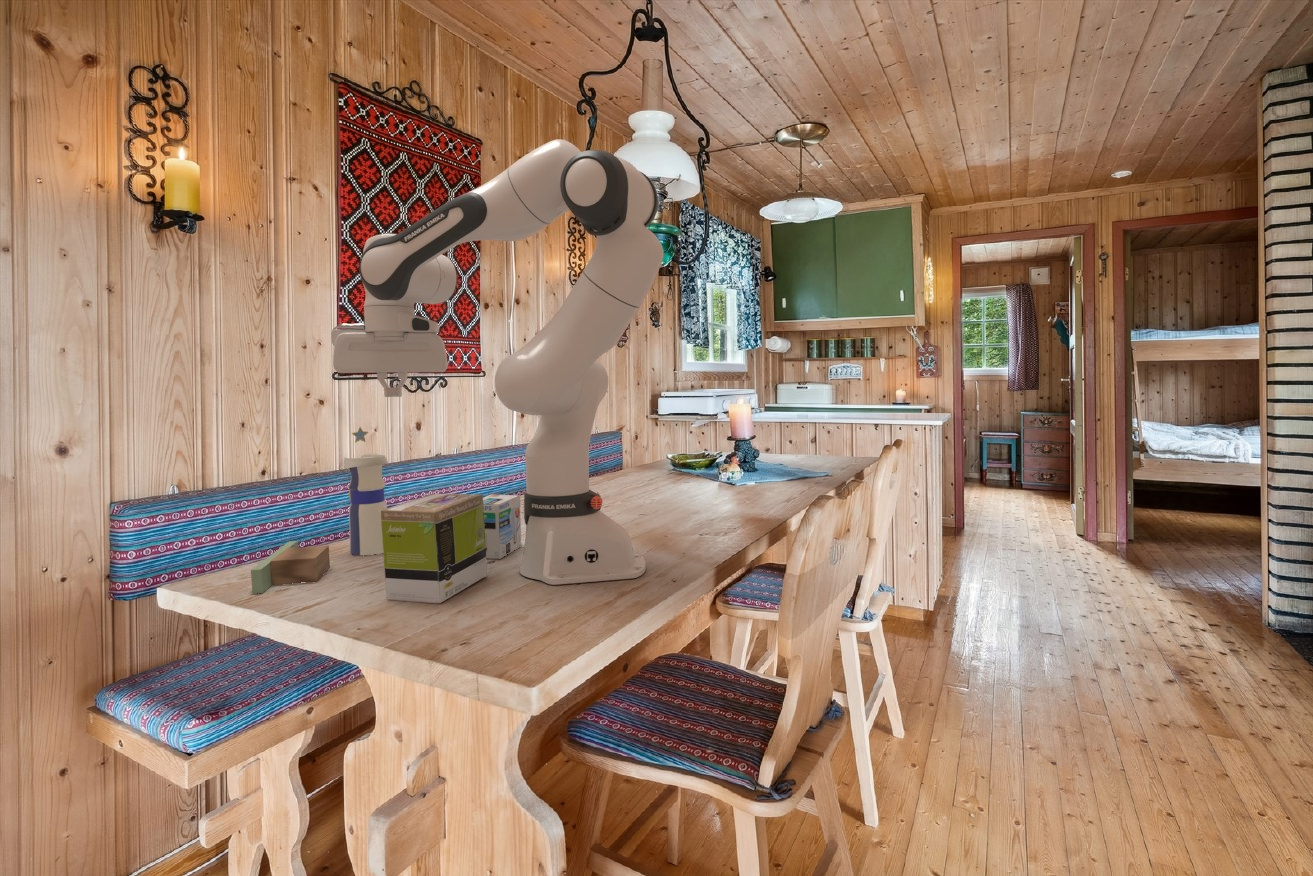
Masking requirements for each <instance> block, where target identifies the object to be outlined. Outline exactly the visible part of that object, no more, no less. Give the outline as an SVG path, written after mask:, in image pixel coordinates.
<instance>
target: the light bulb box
mask: <svg viewBox="0 0 1313 876" xmlns="http://www.w3.org/2000/svg"><path fill="white" fill-rule="evenodd" d="M483 510H484V526H485V542H486V558H487V559H491V560H492V559H493V560H501V559H502V558H505V557H506V556H508V555H510V554H511V553H513V552H515V551H516V550H518V549H520V548H522V528H521V527H522V526H521V520H522V519H521V496H520V495H514V494H513V495H512V494H511V495H508V494H489V495H486V496H484V497H483ZM519 547H520V548H519ZM514 550H515V551H514ZM507 554H508V555H507ZM504 556H505V557H504Z"/></svg>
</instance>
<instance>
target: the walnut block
mask: <svg viewBox="0 0 1313 876" xmlns="http://www.w3.org/2000/svg"><path fill="white" fill-rule="evenodd" d="M330 560H331V559H330V546H329V545H319V546H318V545H317V546H300V547H299V546H298V548H287V549H285V550H284V551H283V552H281V553H280V554H279V555H278V556H276V557H275V558H274V559H272V560H271V561H270V565H271V580H272V585H274V586H284V585H283V584H289V585H293V584H292V583H301V582H317V581H318V580H319V579H320V580H321V579H322V578H323V576H324V575H325V574H326V573H327V572H328V571H329V570H330V569H331V562H330ZM329 568H330V569H329ZM328 569H329V570H328ZM325 572H326V573H325ZM324 573H325V574H324ZM323 574H324V575H323ZM318 582H319V581H318ZM318 582H317V583H318Z"/></svg>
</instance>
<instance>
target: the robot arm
mask: <svg viewBox="0 0 1313 876" xmlns="http://www.w3.org/2000/svg"><path fill="white" fill-rule="evenodd" d="M658 208H659V195H658V191H657V188H656V187H655V185H654V183H653V182H652V180H651V179H650V178H649V176H648V175H646V174H645V173H643V172H642V171H640V170H639V169H637V168H636V166H634V165H633V164H632V163H631V162H630V161H627V160H625V159H623V158H622V157H619V156H617V155H614V154H612V153H611V152H609V151H606V150H601V149H588V150H587V149H586V150H584V151H581V150H580V148H578V146H576V145H575V144H573V143H572V142H570V141H568V140H566V139H553V140H550V141H549V142H546V143H544V144H542V145H540V146H538V147H536V148H534V149H533V150H531V151H529V152H528V153H527V154H525V155H524V156H522V157H520V158H519V159H518V160H516V161H515V162H514V163H512V164H511V165H510V166H509V167H507V168H505V169H504V171H502V172H501V173H499V174H498V175H496V176H495V177H493V178H492V179H491V180H489V181H487V182H485V183H484V184H482V185H480V186H478V187H476V188H475V189H473V190H470V191H468V192H464V193H463V194H461V195H459V196H457V197H454V198H453V199H450V200H449V201H446V203H444V204H442V205H440V206H439V207H438V208H436V209H434V210H432V211H431V212H430V213H428V214H427V215H425V216H424V217H422V218H421V219H419V220H417V221H416V222H414V223H413V224H412V225H410V226H408V227H407V228H405V229H403V230H402V231H400V232H399V233H392V232H391V233H390V232H389V233H379V234H376V235H373V236H370V237H369V238H368V239H367V240H366V241H365V243H364V246H363V251H362V255H361V257H360V260H359V267H358V269H359V270H358V271H359V276H360V279H361V282H362V285H363V288H364V291H365V300H364V302H363V303H364V304H363V312H364V314H363V315H364V323H362V322H359V323H357V322H356V323H346V322H345V323H339V325H336V326H335V327H334V328H332V330H331V333H330V335H331V338H330V339H331V344H332V345H333V346H334V349H333V355H332V356H333V357H332V358H333V359H332V360H333V361H332V364H333V369H334V370H335V371H336V372H337V373H338V374H339V373H340V374H358V373H359V374H362V373H365V374H369V373H370V374H371V373H373V374H375V373H376V377H377V378H376V380H378V381H379V383H380V384H381V387H382V388H384V389H383V391H384V398H390V397H391V398H394V397H395V398H396V397H397V398H399V397H402V396H403V391H402V389H403V387H404V385H405V383H406V381H407V380H408V373H445V371H446V370H447V369H448V357H447V350H446V345H445V342H444V340H443V339H442V337H441V336H440V335H438V334H439V333H440V324H439V323H438V322H437V321H434V320H431V319H429V318H426V317H424V316H420V315H416V314H415V303H416V304H419V303H420V304H427V305H437V304H443V303H446V302H447V301H449V300H450V299H451V298H452V297H453V295H454V294H455V292H456V289H457V286H458V272H457V268H456V266H455V265H454V262H453V260H451V259H450V258H449V257H448V256H447V255H443V254H444V253H447V252H448V251H449V250H451V249H452V248H454V247H455V246H458V245H461V244H464V243H469V242H475V241H476V242H477V241H498V242H501V241H502V242H519V241H522V240H525V239H527V238H530V237H532V236H534V235H536V234H537V233H540V232H541V231H543V230H544V229H545V228H547V227H548V226H549V225H551V224H552V223H554V222H555V221H556V220H557V219H558V218H560V217H561V216H563V214H565V213H566V212H569V211H570V212H571V213H572V214H573V216H575V218H576V219H577V220H578V222H579V223H580V224H581V226H582V227H583V229H584V230H585V231H586V233H587V234H588V235H590V236H596V245H595V249H594V251H593V253H592V255H591V257H590V259H589V260H588V261H587V264H586V265H585V267H584V268H583V270H582V272H581V273H580V275H579V277H578V279H577V280H576V282H575V284H574V285H573V287H572V289H571V290H570V292H569V294H568V295H567V297H566V299H565V300H564V302H563V304H562V305H561V306H560V308H559V309H558V310H557V312H556V313H555V314H554V315H553V316H552V317H551V319H549V321H548V322H547V323H546V324H545V325H544V326H543V327H542V328H541V329H540V330H539V331H538V333H536V334H535V336H533V337H532V338H531V339H530V340H529V341H528V342H527V343H526V344H525V345H523V346H522V347H521V348H519V349H518V350H517V351H515V352H513V353H511V354H510V355H508V356H506V357H505V358H504V359H502V361H501V362H500V363H499V365H498V367H497V369H496V372H495V376H494V389H495V392H496V395H497V398H498V400H499V401H500V402H501V404H502V405H503V406H505V408H507V409H509V410H511V411H513V412H517V413H520V414H525V415H529V416H539V420H538V424H537V427H536V431H535V432H534V435H533V437H532V439H531V440H530V441H528V444H527V445H526V448H525V454H524V455H525V459H524V460H525V483H526V486H525V487H526V492H525V493H524V494H523V520H524V524H525V526H526V527H525V539H524V546H523V547H524V548H523V553H522V559H521V563H520V567H519V570H518V571H519V573H520V575H522V577H526V578H529V579H533V580H537V581H542V582H544V583H545V584H548V585H551V586H552V585H553V586H555V585H569V584H579V583H589V582H590V583H591V582H603V581H615V580H628V579H630V580H631V579H635V578H638V577H640V576H642V575H643V574H644V573H645V572H646V570H647V564H646V560H645V557H643V556H642V555H641V554H639V553H635V552H634V551H635V550H634V545H633V542H632V541H633V540H632V539H631V536H630V533H629V531H628V530H626V528H625V527H623V526H622V525H621V524H619V523H618V522H616V521H615V520H614V519H612V518H611V517H609V516H608V515H607V514H605V513H604V512H602V511H601V509H602V505H603V498H602V496H601V495H600V493H599V492H597V491H596V492H595V491H593V490H591V489H590V466H589V465H590V444H591V443H590V441H591V436H592V432H593V427H594V424H595V418H596V414H597V411H598V408H599V406H600V404H601V402H602V401H603V399H604V398H605V396H606V394H607V392H608V390H609V389H608V388H609V376H608V375H609V374H608V372H607V370H606V368H605V366H604V364H602V363H601V362H600V360H598V359H599V358H601V357H602V356H603V355H604V354H605V353H607V352H608V351H611V350H612V349H613V348H614V347H615V346H616V345H617V344H618V343H619V341H620V339H621V338H622V336H623V334H624V333H625V331H626V330H627V328H628V327H629V325H630V324H631V322H632V320H633V318H634V317H635V316H636V314H637V312H638V311H639V309H640V308H641V306H642V304H643V303H644V301H645V299H646V297H647V295H648V293H650V290H651V288H652V286H653V284H654V282H655V280H656V278H657V275H658V273H659V271H660V268H661V265H662V263H663V261H664V248H663V246H662V243H661V241H660V240H659V239H658V237H657V236H656V235H655V233H653V231H651V230H650V229H648V227H649V226H650V225H651V224H652V223H653V221H654V220H655V218H656V215H657V213H658ZM388 373H397V379H400V380H399V382H398V384H397V385H396V387H390V386H389V385H388V383H387V381H386V380H385V379H387V378H388Z"/></svg>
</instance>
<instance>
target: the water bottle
mask: <svg viewBox="0 0 1313 876" xmlns="http://www.w3.org/2000/svg"><path fill="white" fill-rule="evenodd" d="M368 433H369V431H364V430H363V428H362V427H361V426H359V427H358V429H357V431H354V432H351V434H352V435H353V436H355V440H354V441H355V442H354V443H357V442H359V441H361V442H363V443H366V437H365V436H366V435H367V434H368ZM386 464H389V462H388V459H387V458H386V455H385V454H377V453H376V454H375V453H373V454H372V453H371V454H370V453H369V454H368V453H367V454H365V453H364V454H363V455H360V457H359V458H358V457H356V458H355V457H353V458H352V457H347V456H344V457H343V472H344V473H345V472H346V473H348V469H349V473H350V482H349V484H348V485H347V488H348V489H349V492H348V497H349V500H350V505H349V507H348V518H349V519H348V520H349V521H348V522H349V554H350V555H351V554H353V555H352V556H354V555H363V556H362V557H365V556H364V555H371V556H374V555H373V554H378V555H382V553H383V554H384V551H383V536H382V525H381V510H384V509H387V508H388V505H387V503H386V500H385V487H386V486H387V483H386V482H385V481H384V478H383V465H386Z"/></svg>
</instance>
